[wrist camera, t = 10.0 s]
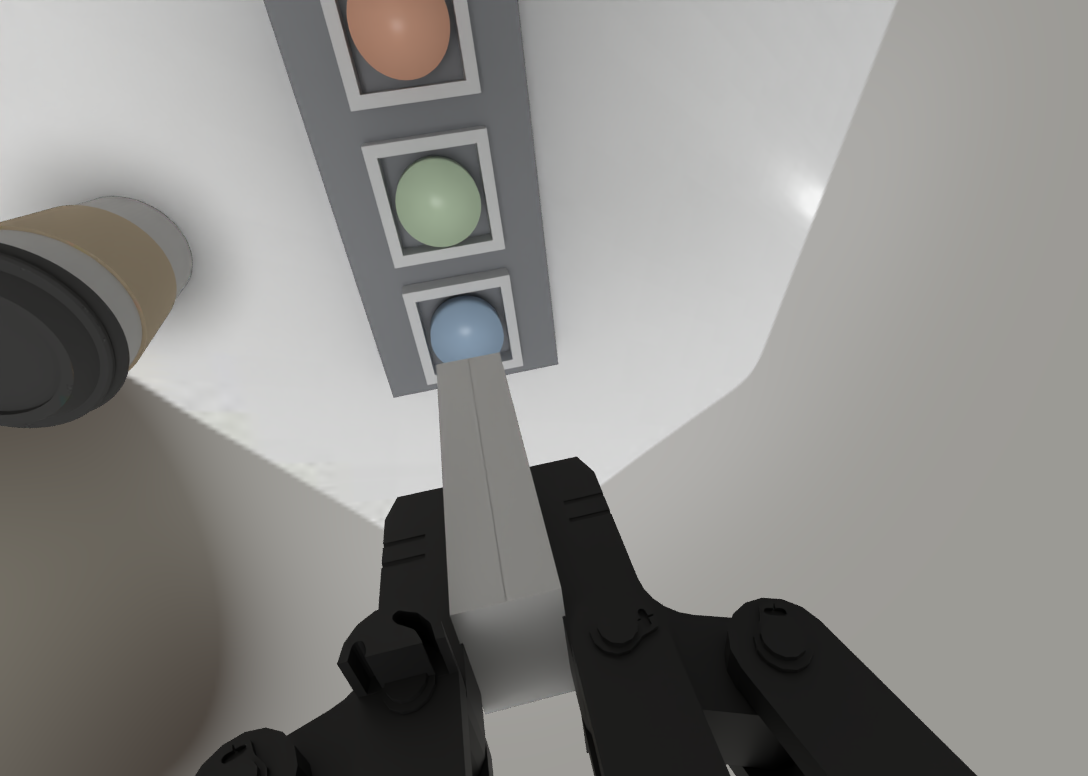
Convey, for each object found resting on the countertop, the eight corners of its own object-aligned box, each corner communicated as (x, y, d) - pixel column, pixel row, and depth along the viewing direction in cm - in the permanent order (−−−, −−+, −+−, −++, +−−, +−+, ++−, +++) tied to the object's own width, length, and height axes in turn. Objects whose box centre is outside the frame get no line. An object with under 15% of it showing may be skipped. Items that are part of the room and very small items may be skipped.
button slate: (494, 289, 36) (497, 298, 35) (505, 351, 39) (508, 362, 38) (422, 302, 36) (422, 312, 35) (438, 365, 39) (439, 376, 37)
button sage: (470, 149, 32) (472, 154, 30) (484, 232, 34) (487, 239, 33) (386, 162, 31) (385, 167, 30) (407, 245, 34) (407, 253, 32)
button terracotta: (437, -43, 27) (438, -48, 25) (457, 72, 29) (459, 73, 28) (336, -31, 26) (332, -36, 25) (366, 85, 29) (363, 86, 27)
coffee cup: (214, 202, 34) (97, 289, 21) (210, 327, 38) (110, 461, 25) (37, 157, 31) (-219, 228, 18) (54, 299, 35) (-147, 435, 22)
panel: (497, -99, 29) (509, -121, 25) (550, 346, 44) (562, 373, 41) (251, -73, 27) (225, -93, 24) (394, 377, 43) (392, 408, 39)
